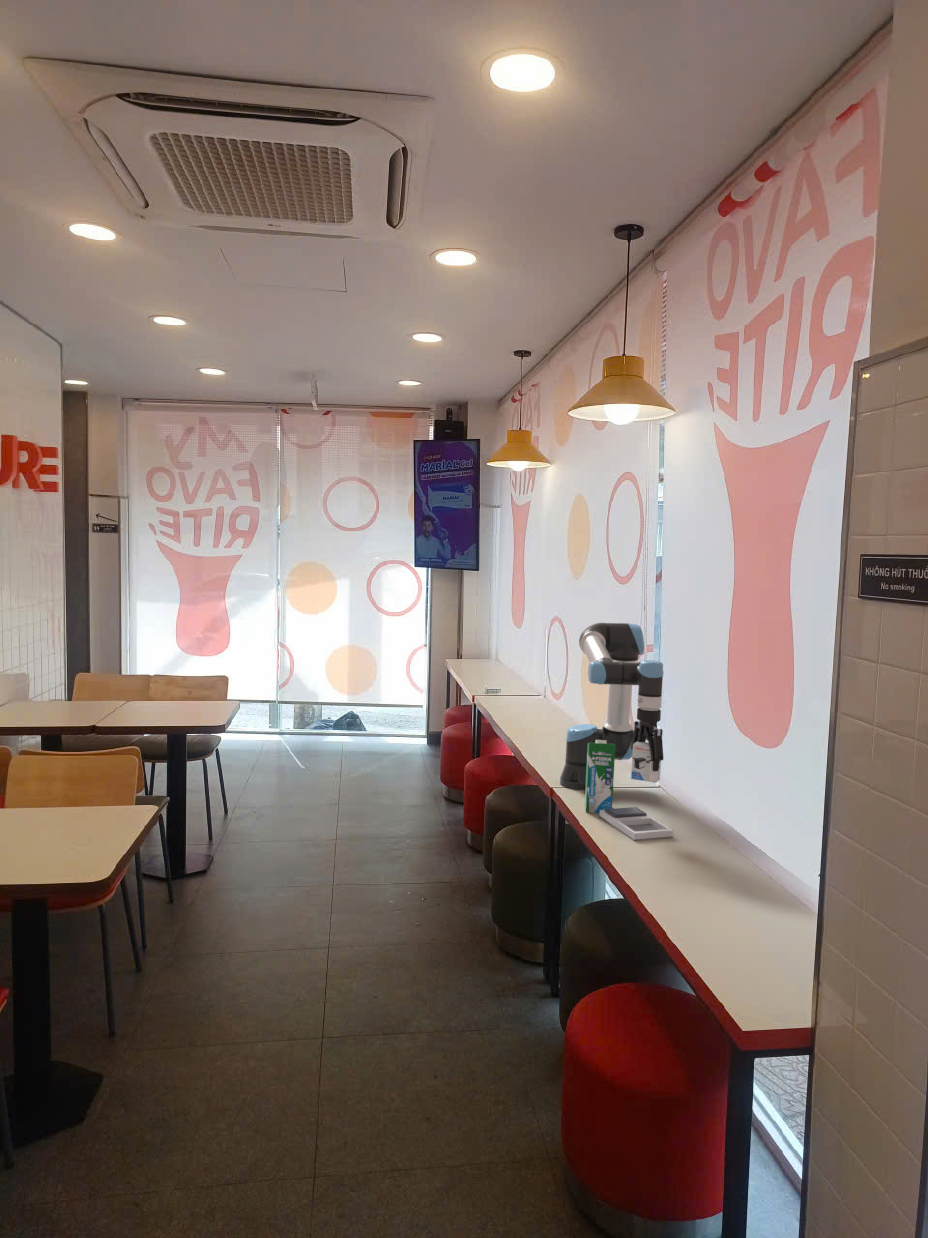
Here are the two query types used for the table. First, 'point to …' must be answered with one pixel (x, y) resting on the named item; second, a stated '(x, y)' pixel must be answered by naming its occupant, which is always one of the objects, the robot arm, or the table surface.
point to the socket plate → (638, 827)
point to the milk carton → (599, 776)
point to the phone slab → (625, 812)
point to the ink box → (642, 762)
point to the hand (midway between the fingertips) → (645, 776)
